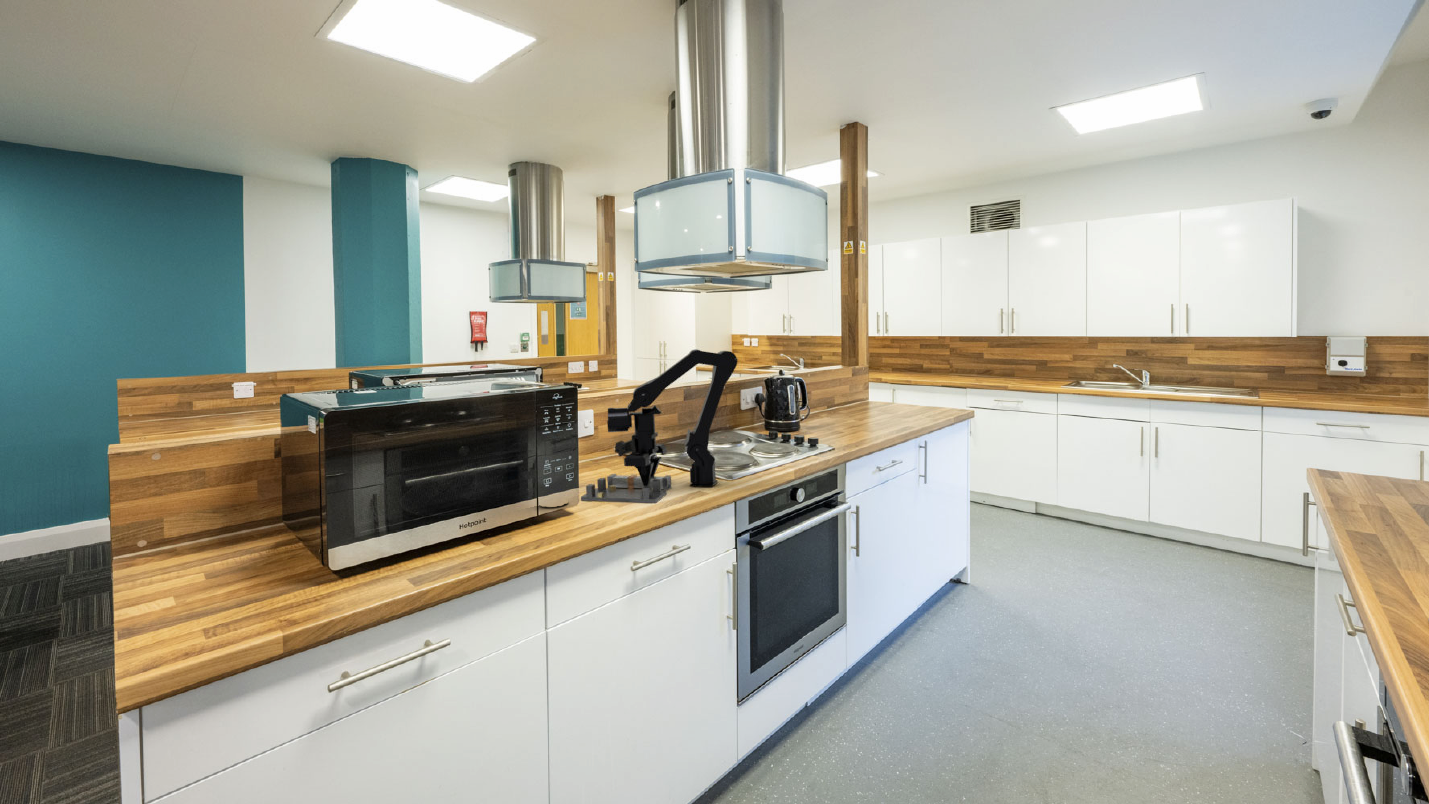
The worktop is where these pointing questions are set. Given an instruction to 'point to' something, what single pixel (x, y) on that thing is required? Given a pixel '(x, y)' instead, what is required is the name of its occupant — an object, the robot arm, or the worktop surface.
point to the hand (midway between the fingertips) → (647, 484)
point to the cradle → (623, 493)
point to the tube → (637, 481)
